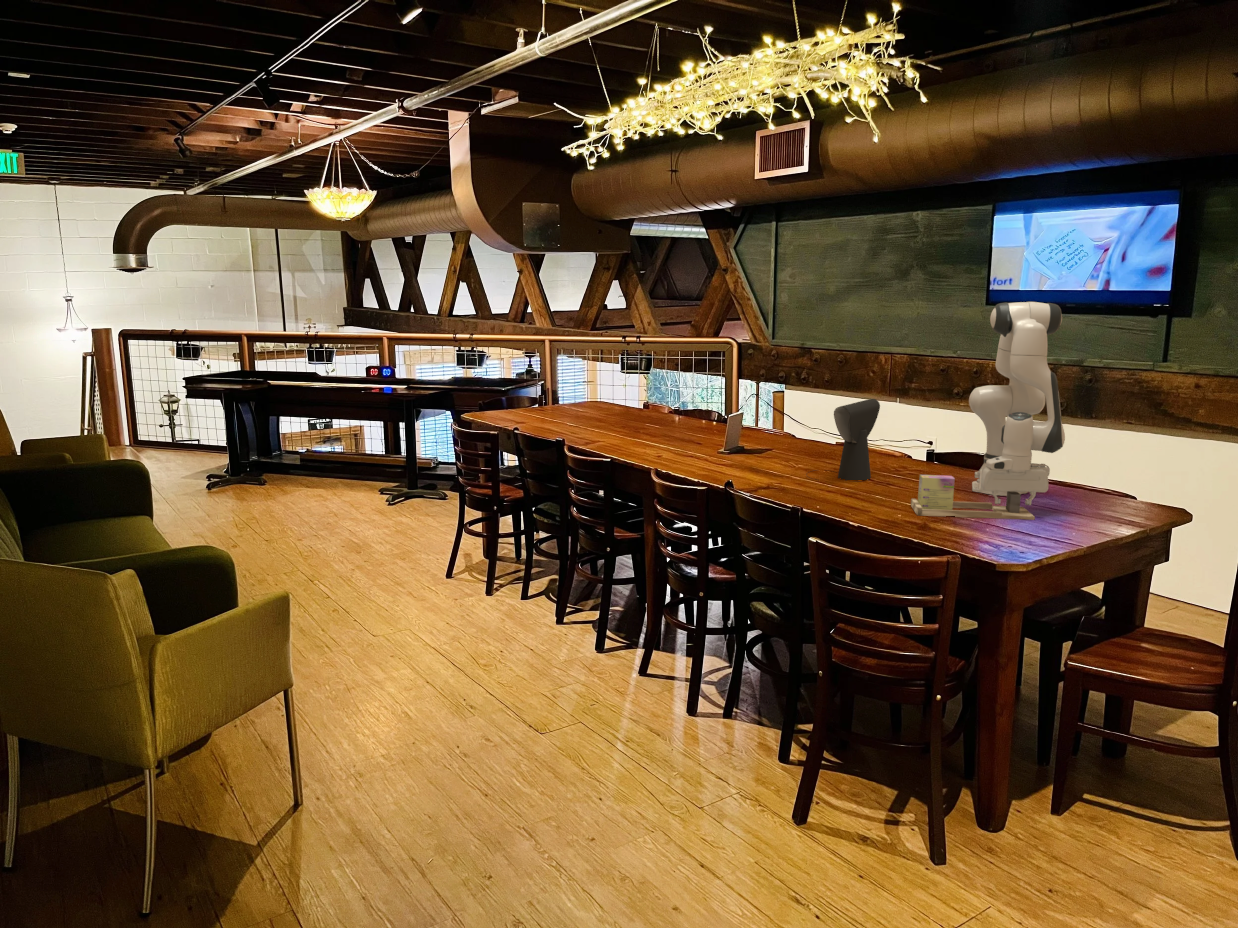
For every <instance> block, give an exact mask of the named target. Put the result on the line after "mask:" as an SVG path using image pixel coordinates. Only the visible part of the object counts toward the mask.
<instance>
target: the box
mask: <svg viewBox="0 0 1238 928" xmlns="http://www.w3.org/2000/svg"><path fill="white" fill-rule="evenodd" d="M918 479H919V480H918V493H917V500H918V502H919V504H920V505H921V507H922V509H938V510H954V508H953V501H954V496H955V495H954V492H955V479H956V478H955V477H954V476H952V475H943V474H941V475H940V474H936V475H935V474H919V478H918Z"/></svg>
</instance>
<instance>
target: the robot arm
mask: <svg viewBox="0 0 1238 928" xmlns="http://www.w3.org/2000/svg"><path fill="white" fill-rule="evenodd" d="M989 320H990V326H991V329H992V330H993V331H994V333H996V334H999V335H1000V336H999V341H998V346H997V353H996V359H995V369H996V371H997V372H998V373H999V374H1000V375H1001V376H1003V377H1005V378H1008V379H1009V382H1008V385H1004V384H1003V385H999V384H998V385H993V384H989V385H982V386H978V387H975V388H974V389H973V390H972V391H971V393H970V395H969V398H968V405H969V409H970V410H971V411H972V412H973V414H975V415H977V417H978V418H979V419H981V421H982V423H983V425H984V427H985V431H986V450H985V451H986V452H984V456H983V464H982V466H981V467H980V469H979V470H978V471H975V472H974V478H975V479H976V480H974V481H972V482H971V491H972V492H975V493H982V494H985V495H986V494H987V495H991V496H993V498H994V504H995V505H1001V502H1002V499H1001V498H1000V497H998V496H1005V497H1007V491H1011V492H1018V493H1019V494H1020V495H1022V494H1024V495H1025V494H1028V493H1029V494H1030V495H1029V497H1028V498H1025V501H1024V504H1025V506H1032V501H1033V499H1034V498H1035V497H1036V495H1037V493H1047V491H1048V490H1049V476H1050V473H1051V472H1050V471H1051V469H1050V467H1049V466H1048V465H1046V463H1032V458H1033V457H1032V456H1033V453H1032V451H1037V452H1038V451H1039V452H1042V453H1043V452H1044V453H1049V454H1054V453H1056V452H1058V451H1059V450H1061V449H1062V448H1063V447H1064V445H1065V440H1066V436H1065V428H1064V426H1063V425H1064V424H1063V421H1062V420H1063V419H1062V411H1061V401H1060V392H1059V391H1060V390H1059V381H1058V378H1057V374H1056V373H1055V372H1053V371H1051V369H1050V367H1049V365H1048V346H1049V345H1048V344H1049V343H1048V335H1053V334H1055V333H1056V332H1057V331H1058V330H1059V329H1060V327H1061V324H1062V322H1063V314H1062V309H1061V307H1060V306H1059V305H1058V304H1056V303H1051V302H1047V303H1044V302H1037V301H1026V302H1025V301H1023V302H1022V301H1020V302H1000V303H997V304H995V306H993V309H992V311H991V313H990V318H989ZM1045 406H1046V412H1047V413H1046V414H1047V420H1046V421H1036V420H1034V418H1033V415H1037V414H1040V413H1041V412H1042V410H1043V409H1044V408H1045Z"/></svg>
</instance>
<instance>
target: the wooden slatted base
mask: <svg viewBox="0 0 1238 928" xmlns="http://www.w3.org/2000/svg"><path fill="white" fill-rule="evenodd" d="M1021 495H1022V494H1019V493H1018V492H1011V491H1007V496H1006V501H1005V502H1006V503H1005V505H993V502H985V501H984V502H981V501H980V502H979V501H976V502H975V501H954V500H953V510H938V509H922V507H921V505H920V504H919V502H918V499H917V498H911V499H910V506H911V508H912V510H913V511H914V513H915V514H916V516H922V517H923V516H925V517H926V516H928V517H946V516H955V517H954V518H972V519H973V518H975V519H976V518H978V519H1000V520H1001V519H1003V520H1005V519H1006V520H1008V519H1009V520H1026V521H1027V520H1028V521H1029V520H1033V521H1035V519H1036V518H1035V515H1033V513H1031V512H1030V511H1029V510H1028V509H1026V508H1025V507H1024V506H1021V498H1022V496H1021ZM959 509H961V510H959ZM962 509H971V510H962ZM972 509H976V510H972ZM986 510H987V511H986ZM989 510H990V511H989ZM991 510H992V511H991Z"/></svg>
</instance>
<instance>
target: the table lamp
mask: <svg viewBox="0 0 1238 928" xmlns="http://www.w3.org/2000/svg"><path fill="white" fill-rule="evenodd" d="M880 407H881V405H880V402H879V401H878V400H877V399H875V398H869V399H865V400H860V401H857V402H852V403H850V404H849V403H848V404H845V405H841V406H838V407H835V409H834V411H833V419H834V423H835V426H836V429H837V431H838V433H839V435H840V437H841V438H842V439H843V440H844V441H843V447H842V451H841V452H842V453H841V458H840V462H839V463H840V464H839V469H838V471H834V470H831V472H833V473H837V479H839V478H841V479H840V480H842V479H845V480H844V481H847V480H867V479H870V478H871V479H872V474H871V465H870V464H871V463H870V453H869V443H868V438H869V435H870V434H871V432H872V430H873V428H874V427H875V425H876V421H877V418H878V416H879V413H880V409H881V408H880ZM815 471H818V469H817V470H816V469H815V470H813V472H815ZM825 471H826V472H827V471H828V472H830V470H829V469H828V470H827V469H825ZM810 472H812V470H811V471H808V472H807V473H806V474H805V475H806V477H807V478H809V479H811V480H816V481H818V479H816V478H812V477H810V476H808V474H809V473H810Z"/></svg>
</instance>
